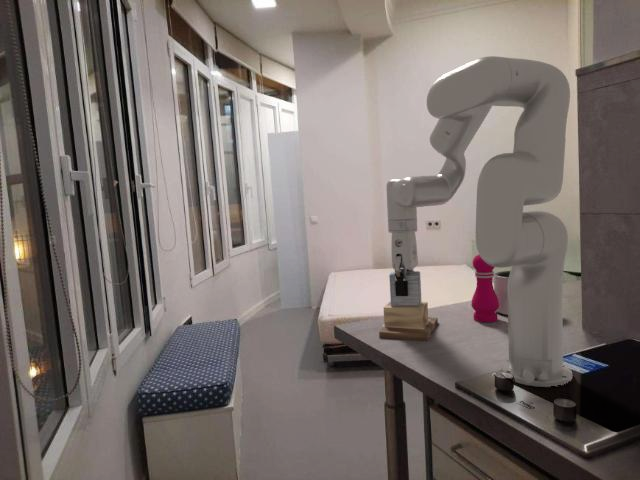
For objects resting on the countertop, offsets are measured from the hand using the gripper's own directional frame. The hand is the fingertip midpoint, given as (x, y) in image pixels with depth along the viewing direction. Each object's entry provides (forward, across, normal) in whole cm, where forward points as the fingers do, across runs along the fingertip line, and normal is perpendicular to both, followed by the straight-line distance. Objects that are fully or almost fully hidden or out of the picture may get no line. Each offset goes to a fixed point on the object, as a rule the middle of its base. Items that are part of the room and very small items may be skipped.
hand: (405, 292), depth 126 cm
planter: (+10, +23, -27) cm, 37 cm away
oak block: (+8, 0, 0) cm, 8 cm away
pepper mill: (+10, +13, -19) cm, 25 cm away
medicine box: (+4, 0, 0) cm, 4 cm away
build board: (+10, -1, -1) cm, 10 cm away
